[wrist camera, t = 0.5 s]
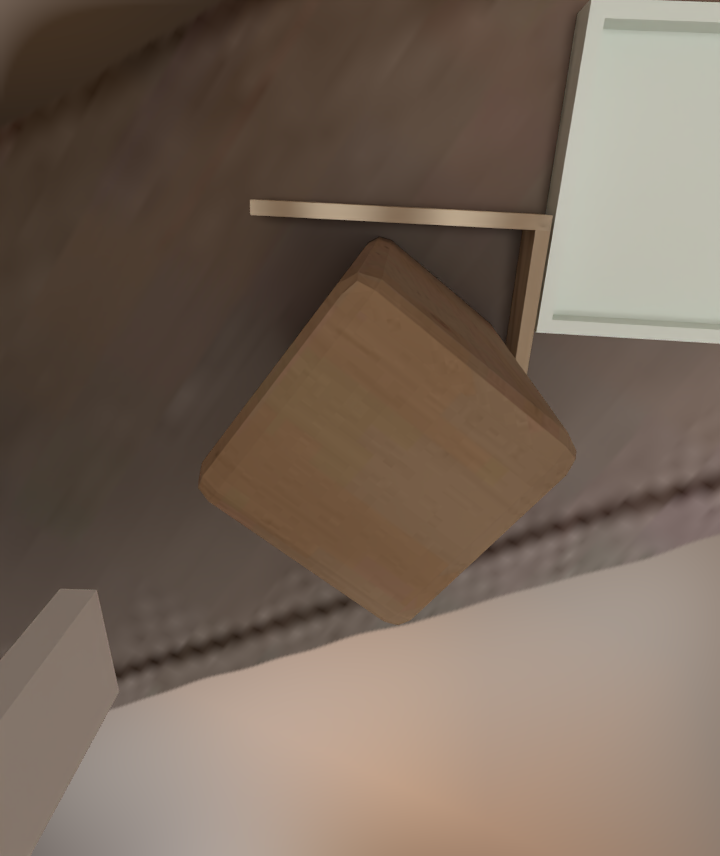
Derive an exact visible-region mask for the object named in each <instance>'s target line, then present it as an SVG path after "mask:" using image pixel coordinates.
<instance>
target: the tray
mask: <svg viewBox="0 0 720 856" xmlns="http://www.w3.org/2000/svg"><path fill="white" fill-rule="evenodd" d="M545 214H546V215H553V218H552V224H551V230H550V236H549V242H548V249H547V255H546V261H545V267H544V273H543V279H542V285H541V291H540V297H539V303H538V309H537V316H536V322H535V328H534V330H535V331H536V332H539V333H556V334H572V335H588V336H605V337H621V338H637V339H654V340H670V341H686V342H703V343H719V344H720V3H718V2H689V1H661V0H590V1H589V2H588V3H587V4H586V5H585V6H584V7H583V8H582V9H581V10H580V11H579V12H578V13H577V18H576V25H575V31H574V37H573V43H572V50H571V56H570V62H569V69H568V75H567V81H566V87H565V94H564V100H563V106H562V112H561V119H560V125H559V131H558V138H557V144H556V150H555V156H554V163H553V169H552V175H551V182H550V188H549V194H548V200H547V207H546V213H545Z"/></svg>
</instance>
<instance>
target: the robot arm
mask: <svg viewBox="0 0 720 856" xmlns="http://www.w3.org/2000/svg"><path fill="white" fill-rule="evenodd" d="M118 693H119V689H118V684H117V680H116V675H115V671H114V666H113V661H112V657H111V652H110V648H109V643H108V639H107V634H106V629H105V625H104V620H103V616H102V611H101V607H100V602H99V597H98V593H97V590H88V589H59V591H58V592H57V593H56V594H55V595H54V597H53V598H52V599H51V600H50V601H49V603H48V604H47V605H46V606H45V607H44V609H43V610H42V611H41V612H40V613H39V615H38V616H37V617H36V618H35V619H34V621H33V622H32V623H31V624H30V625H29V627H28V628H27V629H26V630H25V631H24V633H23V634H22V635H21V636H20V637H19V639H18V640H17V641H16V642H15V643H14V645H13V646H12V647H11V648H10V649H9V651H8V652H7V653H6V654H5V655H4V656H3V658H2V659H1V660H0V856H30V855H31V854H32V852H33V850H34V848H35V846H36V844H37V843H38V841H39V839H40V837H41V835H42V833H43V831H44V830H45V828H46V826H47V824H48V822H49V820H50V819H51V817H52V815H53V813H54V811H55V809H56V807H57V806H58V804H59V802H60V800H61V798H62V796H63V794H64V793H65V791H66V789H67V787H68V785H69V784H70V782H71V780H72V778H73V776H74V774H75V772H76V771H77V769H78V767H79V765H80V763H81V761H82V759H83V758H84V756H85V754H86V752H87V750H88V748H89V747H90V745H91V743H92V741H93V739H94V737H95V735H96V734H97V732H98V730H99V728H100V726H101V724H102V722H103V721H104V719H105V717H106V715H107V713H108V712H109V710H110V708H111V706H112V704H113V702H114V700H115V699H116V697H117V695H118Z"/></svg>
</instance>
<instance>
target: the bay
mask: <svg viewBox="0 0 720 856" xmlns="http://www.w3.org/2000/svg"><path fill="white" fill-rule="evenodd" d="M250 215H261V216H279V217H298V218H317V219H336V220H355V221H373V222H392V223H411V224H430V225H449V226H467V227H486V228H505V229H523V230H522V237H521V244H520V251H519V258H518V264H517V271H516V278H515V285H514V292H513V299H512V305H511V312H510V319H509V326H508V333H507V340H506V347H507V348H508V349H509V351H510V352H511V354H512V355H513V356H514V358H515V359H516V361H517V362H518V363H519V365H520V366H521V368H522V369H523V370H524V372H525V373H526V375H527V370H528V364H529V358H530V352H531V346H532V340H533V334H534V328H535V322H536V316H537V309H538V303H539V297H540V291H541V285H542V279H543V273H544V267H545V261H546V255H547V249H548V242H549V236H550V230H551V224H552V218H553V215H546V214H534V213H515V212H495V211H476V210H457V209H438V208H418V207H399V206H380V205H361V204H341V203H322V202H303V201H284V200H264V199H262V200H250Z"/></svg>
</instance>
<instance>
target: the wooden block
mask: <svg viewBox="0 0 720 856" xmlns="http://www.w3.org/2000/svg"><path fill="white" fill-rule="evenodd" d="M575 459H576V449H575V447H574V445H573V443H572V441H571V439H570V436H569V434H568V432H567V431H566V430H565V428H564V427H563V425H562V424H561V422H560V421H559V420H558V418H557V417H556V415H555V414H554V413H553V411H552V410H551V408H550V407H549V406H548V404H547V403H546V401H545V400H544V399H543V397H542V396H541V394H540V393H539V392H538V390H537V389H536V387H535V386H534V385H533V383H532V382H531V380H530V379H529V377H528V376H527V375H526V373H525V372H524V370H523V369H522V368H521V366H520V365H519V363H518V362H517V361H516V359H515V358H514V356H513V355H512V354H511V352H510V351H509V349H508V348H507V347H506V345H505V344H504V342H503V341H502V340H501V338H500V337H499V335H498V334H497V333H496V331H495V330H494V328H493V327H492V325H491V324H490V323H489V322H488V321H486V320H485V319H484V318H483V317H482V316H481V315H479V314H478V313H477V312H476V311H475V310H473V309H472V308H471V307H470V306H469V305H467V304H466V303H465V302H464V301H463V300H462V299H460V298H459V297H458V296H457V295H456V294H454V293H453V292H452V291H451V290H450V289H449V288H447V287H446V286H445V285H444V284H443V283H441V282H440V281H439V280H438V279H437V278H435V277H434V276H433V275H432V274H431V273H430V272H428V271H427V270H426V269H425V268H424V267H422V266H421V265H420V264H419V263H418V262H417V261H415V260H414V259H413V258H412V257H411V256H409V255H408V254H407V253H406V252H405V251H403V250H402V249H401V248H400V247H399V246H398V245H396V244H395V243H394V242H393V241H392V240H389V239H385V238H382V237H378V238H376V239H374V240H373V241H371V242H369V243H368V244H367V245H366V247H365V248H364V249H363V251H362V252H361V253H360V255H359V256H358V257H357V258H356V260H355V261H354V262H353V264H352V265H351V266H350V268H349V269H348V270H347V272H346V273H345V274H344V276H343V277H342V278H341V280H340V281H339V282H338V283H337V285H336V286H335V287H334V289H333V290H332V291H331V293H330V294H329V295H328V297H327V298H326V299H325V301H324V302H323V303H322V305H321V306H320V307H319V309H318V310H317V311H316V313H315V314H314V315H313V317H312V318H311V319H310V321H309V322H308V323H307V324H306V326H305V327H304V328H303V330H302V331H301V332H300V334H299V335H298V336H297V338H296V339H295V340H294V342H293V343H292V344H291V346H290V347H289V348H288V350H287V351H286V352H285V354H284V355H283V356H282V358H281V359H280V360H279V362H278V363H277V364H276V365H275V367H274V368H273V369H272V371H271V372H270V373H269V375H268V376H267V377H266V379H265V380H264V381H263V383H262V384H261V385H260V387H259V388H258V389H257V391H256V392H255V393H254V395H253V396H252V397H251V399H250V400H249V401H248V402H247V404H246V405H245V406H244V408H243V409H242V410H241V412H240V413H239V414H238V416H237V417H236V418H235V420H234V421H233V422H232V424H231V425H230V426H229V428H228V429H227V430H226V432H225V433H224V434H223V436H222V437H221V438H220V440H219V441H218V442H217V443H216V445H215V446H214V447H213V449H212V450H211V451H210V453H209V454H208V455H207V457H206V458H205V459H204V461H203V462H202V466H201V471H200V476H199V483H198V488H199V489H200V491H201V492H202V493H203V495H204V496H205V497H206V499H207V500H208V501H209V502H210V503H212V504H213V505H215V506H216V507H218V508H219V509H221V510H222V511H224V512H225V513H226V514H228V515H229V516H231V517H232V518H234V519H235V520H237V521H238V522H240V523H241V524H242V525H244V526H245V527H247V528H248V529H250V530H251V531H253V532H254V533H256V534H257V535H259V536H260V537H261V538H263V539H264V540H266V541H267V542H269V543H270V544H272V545H273V546H275V547H276V548H278V549H279V550H280V551H282V552H283V553H285V554H286V555H288V556H289V557H291V558H292V559H294V560H295V561H297V562H298V563H299V564H301V565H302V566H304V567H305V568H307V569H308V570H310V571H311V572H313V573H314V574H316V575H317V576H318V577H320V578H321V579H323V580H324V581H326V582H327V583H329V584H330V585H332V586H333V587H335V588H336V589H337V590H339V591H340V592H342V593H343V594H345V595H346V596H348V597H349V598H351V599H352V600H354V601H355V602H356V603H358V604H359V605H361V606H362V607H364V608H365V609H367V610H368V611H370V612H371V613H372V614H374V615H375V616H377V617H378V618H380V619H381V620H383V621H384V622H388V623H392V624H396V625H400V624H402V623H405V622H407V621H410V620H411V619H412V618H413V617H414V616H415V615H417V614H418V613H419V612H420V611H421V610H422V609H423V608H424V607H425V606H426V605H427V604H428V603H429V602H430V601H432V600H433V599H434V598H435V597H436V596H437V595H438V594H439V593H440V592H441V591H442V590H443V589H444V588H446V587H447V586H448V585H449V584H450V583H451V582H452V581H453V580H454V579H455V578H456V577H457V576H458V575H459V574H461V573H462V572H463V571H464V570H465V569H466V568H467V567H468V566H469V565H470V564H471V563H472V562H473V561H475V560H476V559H477V558H478V557H479V556H480V555H481V554H482V553H483V552H484V551H485V550H486V549H487V548H488V547H490V546H491V545H492V544H493V543H494V542H495V541H496V540H497V539H498V538H499V537H500V536H501V535H502V534H503V533H505V532H506V531H507V530H508V529H509V528H510V527H511V526H512V525H513V524H514V523H515V522H516V521H517V520H519V519H520V518H521V517H522V516H523V515H524V514H525V513H526V512H527V511H528V510H529V509H530V508H531V507H532V506H534V505H535V504H536V503H537V502H538V501H539V500H540V499H541V498H542V497H543V496H544V495H545V494H546V493H548V492H549V491H550V490H551V489H552V488H553V487H554V486H555V485H556V484H557V483H558V482H559V481H560V480H561V479H563V478H564V477H565V476H566V475H567V473H568V471H569V470H570V468H571V466H572V464H573V462H574V461H575Z"/></svg>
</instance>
